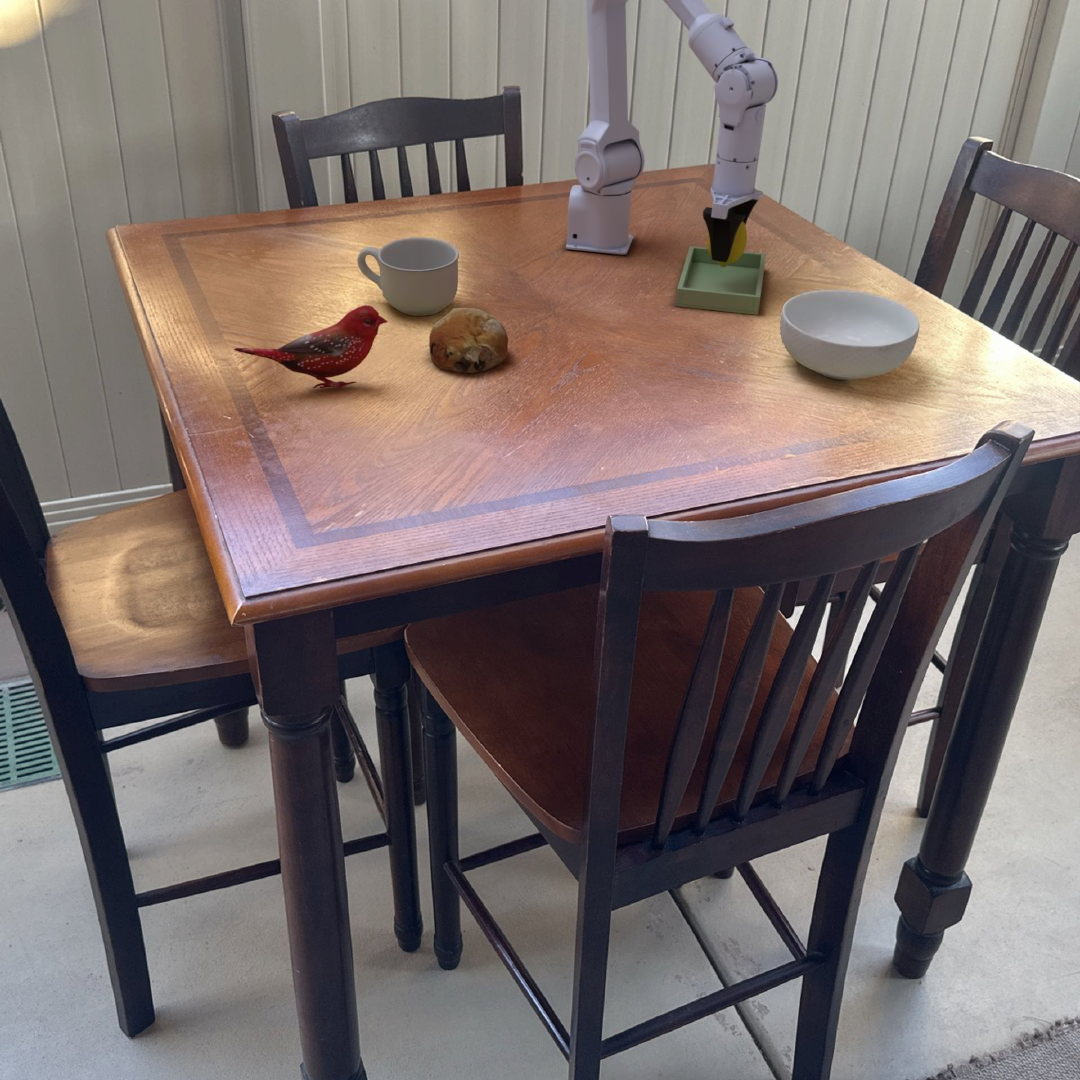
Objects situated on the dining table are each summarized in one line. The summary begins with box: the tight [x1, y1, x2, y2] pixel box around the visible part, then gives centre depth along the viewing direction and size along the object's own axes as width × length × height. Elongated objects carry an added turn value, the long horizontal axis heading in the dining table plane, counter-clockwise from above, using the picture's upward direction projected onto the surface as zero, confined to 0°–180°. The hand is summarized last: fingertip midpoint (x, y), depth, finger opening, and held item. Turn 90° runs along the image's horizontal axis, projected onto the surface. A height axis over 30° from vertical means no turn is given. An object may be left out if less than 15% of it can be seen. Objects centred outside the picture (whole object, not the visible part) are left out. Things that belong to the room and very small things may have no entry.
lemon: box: [706, 221, 748, 267], centre depth 159 cm, size 6×6×8 cm
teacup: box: [356, 236, 460, 317], centre depth 153 cm, size 14×11×8 cm
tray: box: [675, 245, 767, 316], centre depth 163 cm, size 11×17×3 cm, turn 168°
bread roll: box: [428, 307, 509, 374], centre depth 141 cm, size 10×10×8 cm
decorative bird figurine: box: [233, 304, 388, 389], centre depth 131 cm, size 3×18×10 cm, turn 107°
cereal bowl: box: [779, 289, 920, 381], centre depth 141 cm, size 17×17×7 cm
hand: (724, 253), depth 160 cm, fingers closed on lemon, 5 cm apart
